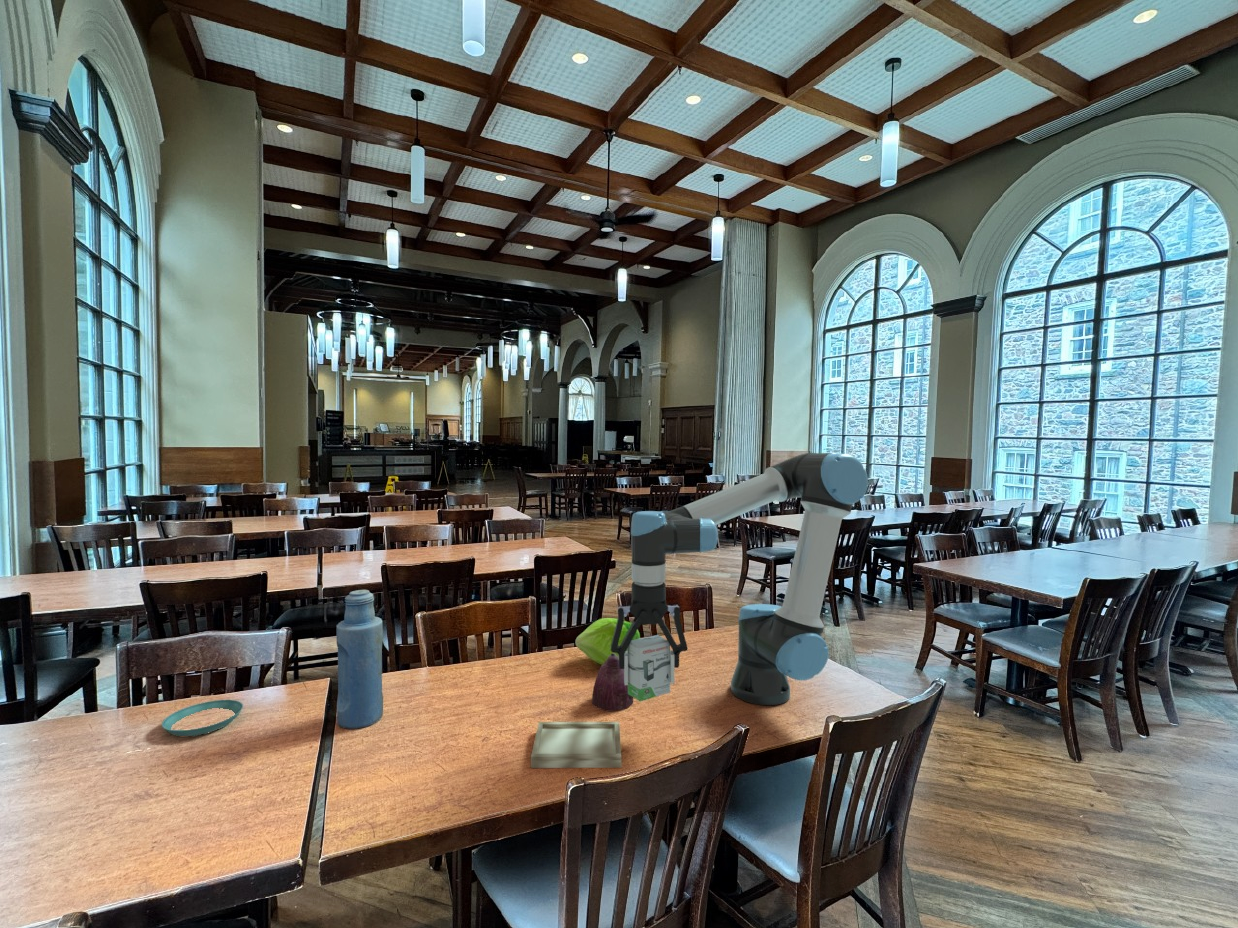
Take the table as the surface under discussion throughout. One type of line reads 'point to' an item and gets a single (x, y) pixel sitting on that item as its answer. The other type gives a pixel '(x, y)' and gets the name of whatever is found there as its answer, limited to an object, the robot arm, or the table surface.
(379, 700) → the bottle
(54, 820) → the table surface
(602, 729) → the tray
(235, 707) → the teal round ring piece
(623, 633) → the lettuce
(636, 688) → the ink box
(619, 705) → the vegetable
